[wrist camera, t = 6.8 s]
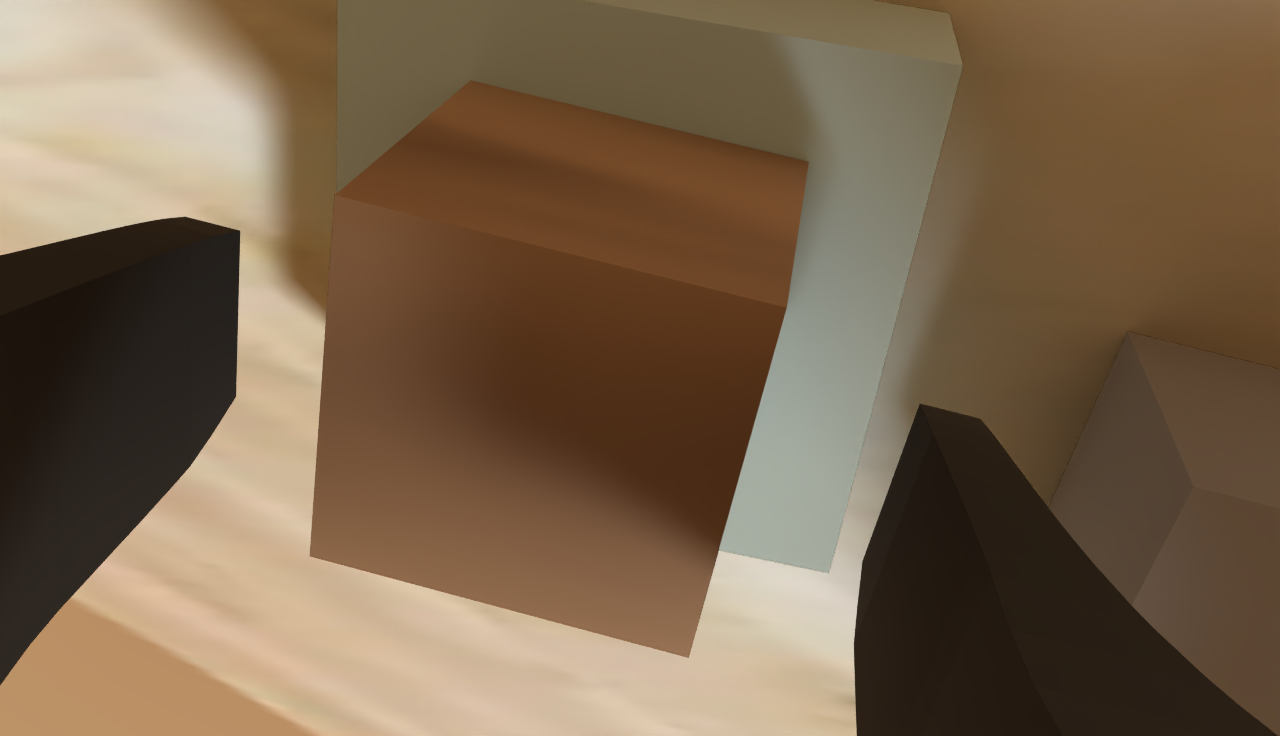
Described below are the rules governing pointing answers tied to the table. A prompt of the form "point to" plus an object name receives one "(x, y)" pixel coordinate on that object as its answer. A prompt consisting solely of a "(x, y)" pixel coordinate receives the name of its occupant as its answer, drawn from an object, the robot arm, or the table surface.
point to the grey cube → (1188, 507)
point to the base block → (736, 113)
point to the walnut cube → (550, 359)
